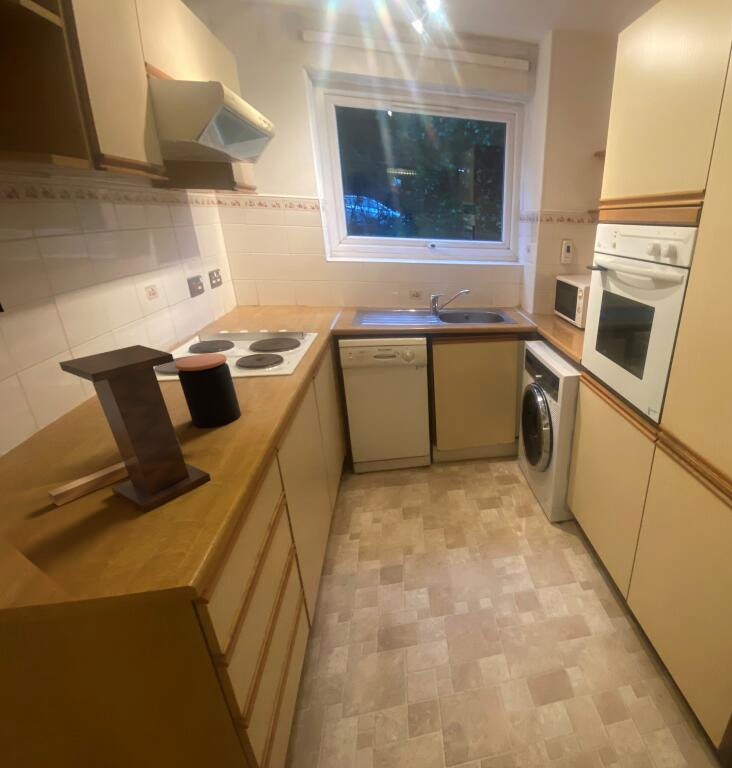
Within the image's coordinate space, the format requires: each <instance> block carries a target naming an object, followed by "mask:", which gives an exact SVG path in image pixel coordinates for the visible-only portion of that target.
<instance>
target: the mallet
mask: <svg viewBox="0 0 732 768" xmlns="http://www.w3.org/2000/svg"><path fill="white" fill-rule="evenodd" d="M177 440H178V443H179V446H180V449H181V452H182V455H183V458H184V459H185V455H184V454H183V452H184V451H183V449H182V446H181V443H180V439H179V438H177ZM127 477H129V474H128V472H127V469H126V466H125V464H124V461H123V460H122V461H121V462H118V463H115V464H114V465H111V466H108V467H106V468H104V469H101V470H98V471H96V472H93V473H92V474H89V475H87V476H84V477H81V478H79V479H77V480H74V481H72V482H70V483H67V484H64V485H62V486H60V487H57V488H54V489H53V490H49V491H47V494H48V495H49V498H50V500H51V502H52V503H53V504H54V505H56V506H57V507H60V506H62V505H65V504H68V503H69V502H72V501H74V500H77V499H79V498H81V497H83V496H87V495H88V494H90V493H92V492H95V491H98V490H100V489H102V488H105V487H107V486H109V485H111V484H113V483H116V482H119V481H120V480H123V479H125V478H127Z"/></svg>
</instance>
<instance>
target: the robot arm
mask: <svg viewBox="0 0 732 768" xmlns="http://www.w3.org/2000/svg"><path fill="white" fill-rule="evenodd" d="M0 313H5V309H4V308H3V306H2V303H1V302H0Z"/></svg>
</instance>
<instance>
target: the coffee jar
mask: <svg viewBox="0 0 732 768" xmlns="http://www.w3.org/2000/svg"><path fill="white" fill-rule="evenodd" d="M227 360H228V359H227V356H226V355H225V354H223V353H218V352H217V353H216V352H215V353H213V352H212V353H211V352H210V353H201V354H195V355H190V356H187V357H184V358H180V359H179V360H177V361H176V362H175V363H174V366H175V368H176V370H178V372H177V376H178V379H179V382H180V385H181V389H182V392H183V396H184V398H185V401H186V405H187V408H188V411H189V415H190V418H191V421H192V425H193V426H194V427H195V428H197V429H214V428H215V429H216V428H219V427H224V426H227V425H230V424H232V423H234V422H236V421H238V420H239V419H240V418H241V416H242V412H241V409H240V403H239V400H238V395H237V393H236V389H235V385H234V381H233V377H232V373H231V370H230V366H229V363H227Z"/></svg>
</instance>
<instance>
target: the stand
mask: <svg viewBox="0 0 732 768" xmlns="http://www.w3.org/2000/svg"><path fill="white" fill-rule="evenodd" d="M173 362H175V359H174V356H173V353H170V352H166V351H162V350H159V349H155V348H152V347H149V346H145V345H142V344H135V345H130V346H126V347H122V348H118V349H117V348H116V349H113V350H109V351H104V352H100V353H96V354H91V355H87V356H86V355H85V356H82V357H78V358H73V359H69V360H65V361H64V360H63V361H60V362H58V363H59V364H58V365H59V366H60V368H61V371H63V372H65V373H68V374H71V375H74V376H75V377H79V378H81V379H84V380H87V381H89V382H92V386H93V387H94V391H95V393H96V394H97V398H98V401H99V404H100V405H101V408H102V410H103V413H104V416H105V418H106V421H107V423H108V426H109V428H110V431H111V433H112V436H113V438H114V441H115V444H116V446H117V449H118V451H119V454H120V456H121V459H122V462H123V461H124V464H125V466H126V469H127V472H128V474H129V476H128V477H129V480H127V481H124V482H122V483H119V484H118V485H115V486H113V487H111V490H112V493H113V495H115V496H116V497H119V498H120V499H122V500H124V501H125V502H127V503H129V504H130V505H132V506H134V507H135V508H137V509H139V510H141V511H142V512H144V513H147V512H150V511H151V510H153V509H155V508H157V507H160V506H162V505H163V504H165V503H167V502H169V501H172V500H173V499H175V498H178V497H179V496H181V495H183V494H185V493H187V492H189V491H191V490H193V489H195V488H197V487H199V486H201V485H203V484H205V483H207V482H209V481H211V480H212V478H211V475H210V473H209V472H207V471H204V470H202V469H200V468H197V467H195V466H193V465H191V464H189V463H186V461H185V458H183V455H182V454H183V452H181V449H180V446H179V443H178V440H177V439H178V437H177V434H176V431H175V428H174V426H173V423H172V419H171V417H170V414H169V410H168V407H167V404H166V402H165V398H164V395H163V393H162V389H161V386H160V383H159V380H158V377H157V375H156V374H157V373H156V371H155V368H154V367H158V366H162V365H167V364H169V363H170V364H171V363H173Z"/></svg>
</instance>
